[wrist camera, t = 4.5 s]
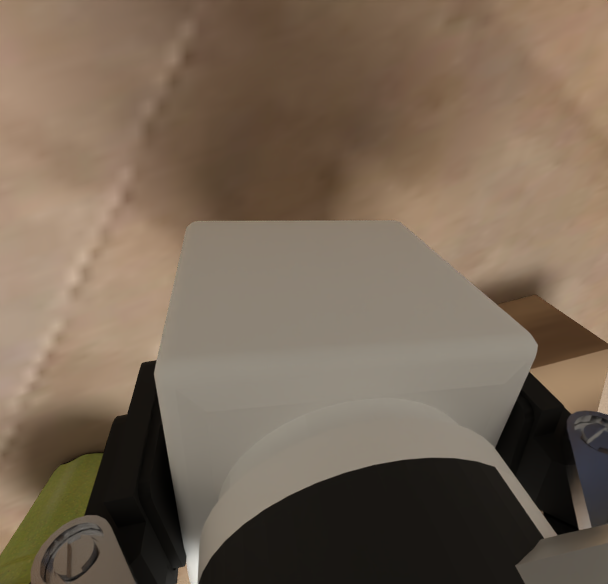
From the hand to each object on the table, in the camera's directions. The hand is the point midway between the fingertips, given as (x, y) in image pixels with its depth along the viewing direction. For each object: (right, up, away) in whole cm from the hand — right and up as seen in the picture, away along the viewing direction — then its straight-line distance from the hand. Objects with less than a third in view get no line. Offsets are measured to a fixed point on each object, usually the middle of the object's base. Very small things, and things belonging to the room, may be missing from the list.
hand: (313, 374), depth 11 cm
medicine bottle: (-1, +2, +3) cm, 4 cm away
